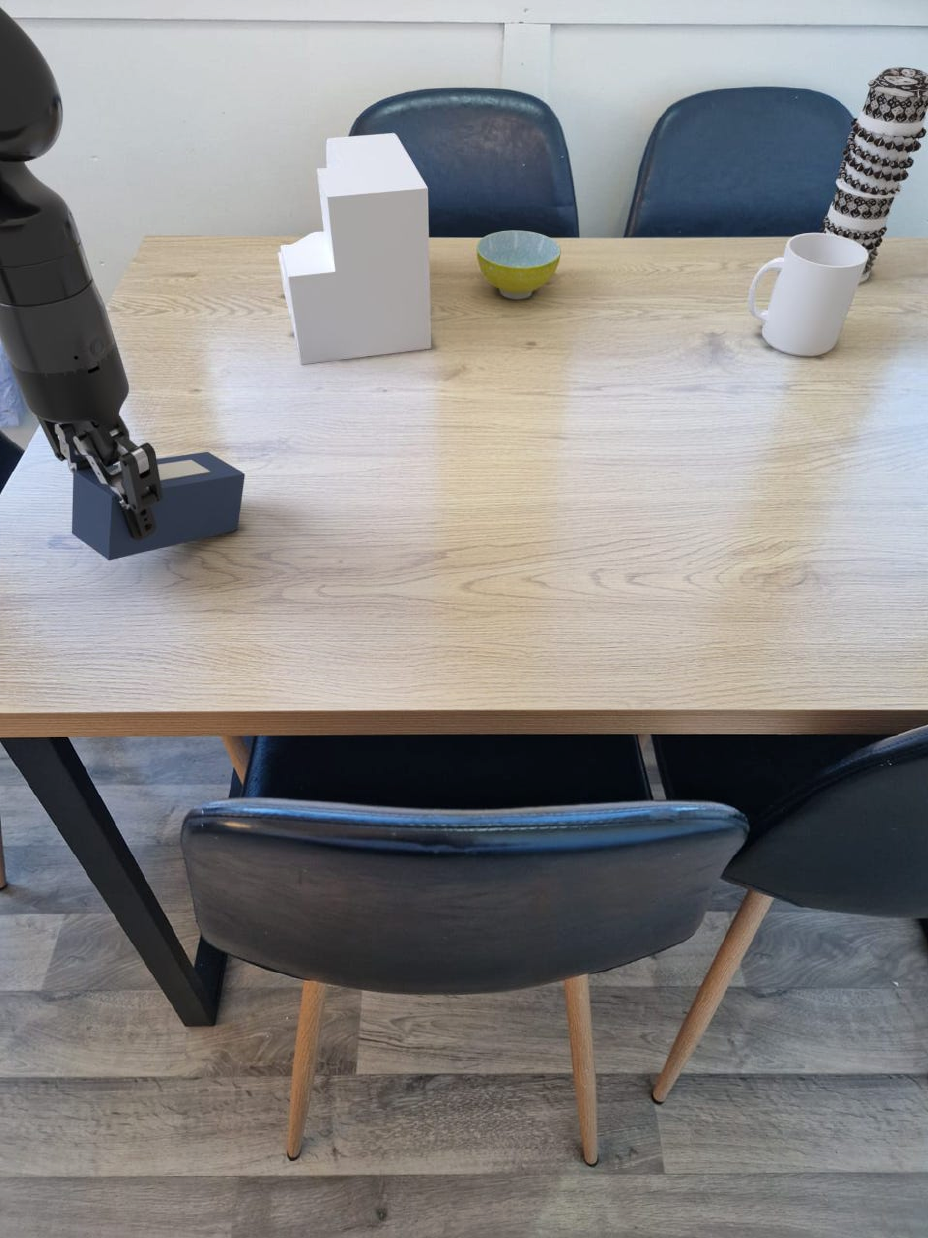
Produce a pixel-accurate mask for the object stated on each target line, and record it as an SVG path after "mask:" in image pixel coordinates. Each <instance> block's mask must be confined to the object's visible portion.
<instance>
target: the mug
mask: <svg viewBox="0 0 928 1238" xmlns="http://www.w3.org/2000/svg"><path fill="white" fill-rule="evenodd" d="M867 260H868V252H867V250H866V249H865V248H864V247H863V246H862V245H860V244H858V243H857V242H855V241H853V240H850V239H848V238H845V237H841V236H837V235H832V234H826V233H820V232H807V233H805V232H804V233H801V234H796V235H794V236H792V237H790V238H789V239H788V240H787V241H786V245H785V248H784V251H783V256H781V257H775V258H773V259H771V260H769V261H768V262H766V263H765V264H764V265H762V266H761V267H760V268H759V270H758V271H757V273H756V274H755V275H754V278H753V280H752V282H751V284H750V288H749V292H748V299H747V306H748V310H749V313H750V314H751V315H752V317H753V318H754V319H757V320H758V321H760V322H761V323H762V329H761V334H762V338H763V339H764V340H765V341H766V342H767V344H768V345H769V346H770V347H772V348H773V349H775V350H777V351H779V352H781V353H784V354H787V355H790V356H794V357H796V356H797V357H805V358H806V357H807V358H808V357H817V356H820V355H821V356H822V355H823V354H825V353H828V352H829V351H831V350H833V348H834V347H835V346H836V344H837V342H838V340H839V339H840V335H841V333H842V330H843V327H844V324H845V321H846V319H847V316H848V313H849V311H850V308H851V306H852V302H853V300H854V297H855V294H856V292H857V289H858V287H859V285H860V283H859V281H860V278H861V276H862V273H863V270H864V268H865V265H866V262H867ZM769 271H776V272H777V274H776V278H775V282H774V286H773V289H772V292H771V296H770V299H769V301H768V302H769V303H768V306H767V309H765V310H762V311H761V310H758V308H757V306H756V302H755V299H756V298H755V297H756V291H757V287H758V284H759V283H760V280H761V278H763V276H764V275H765V273H767V272H769Z"/></svg>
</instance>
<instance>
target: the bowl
mask: <svg viewBox="0 0 928 1238" xmlns="http://www.w3.org/2000/svg"><path fill="white" fill-rule="evenodd" d="M561 254H562V249H561V246H560V245H559V243H558V242H557V241H555V239H553V238H551V237H550V236H547V235H545V234H542V233H538V232H534V231H527V230H502V231H498V232H497V231H496V232H492V233H490V234H488V235H485V236H484V237H482V238H481V239H480V240H478V242H477V244H476V258H477V262H478V265H479V268H480V270H481V273H482V274H483V277H484V278H485V279H486V280H487V282H489V284H491V285H492V286H493V287H495V288H497V289H499V294H500V295H501V296H503V297H504V298H507V299H511V300H523V299H527V298H529V297H531V295H532V294H533V291H535V290H538V289H539V288H542V286H544V285H546V283H547V282H549V280H550V279H551V278H552V277H553V276H554V273H555V272H556V270H557V268H558V265H559V263H560V260H561Z"/></svg>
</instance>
